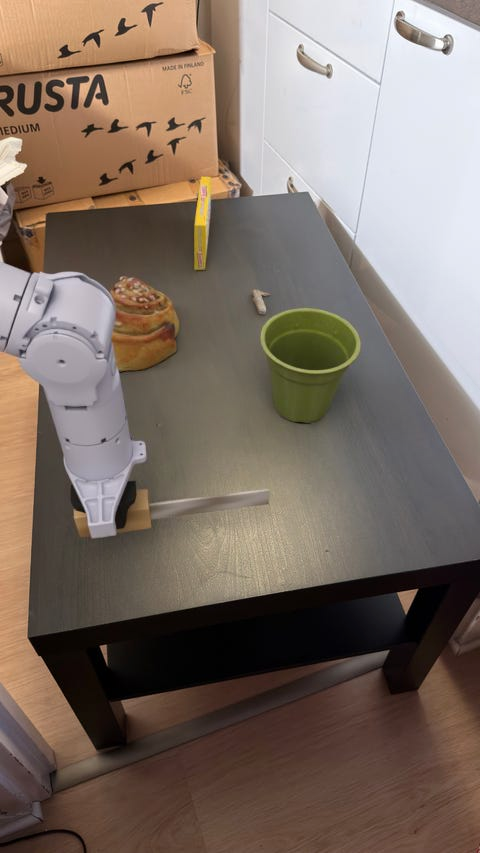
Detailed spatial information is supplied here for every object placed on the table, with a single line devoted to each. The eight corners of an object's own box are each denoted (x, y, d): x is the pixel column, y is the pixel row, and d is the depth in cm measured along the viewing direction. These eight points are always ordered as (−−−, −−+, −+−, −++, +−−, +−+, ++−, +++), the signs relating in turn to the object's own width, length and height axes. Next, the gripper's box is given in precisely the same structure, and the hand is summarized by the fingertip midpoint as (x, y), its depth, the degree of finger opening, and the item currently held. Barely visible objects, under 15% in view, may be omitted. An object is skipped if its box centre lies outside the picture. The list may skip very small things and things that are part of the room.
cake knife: (79, 537, 61) (73, 518, 58) (80, 517, 62) (73, 497, 60) (270, 513, 63) (272, 493, 61) (266, 493, 65) (267, 473, 62)
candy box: (207, 271, 102) (205, 225, 96) (194, 271, 102) (191, 225, 96) (212, 219, 113) (211, 175, 106) (200, 219, 113) (198, 175, 107)
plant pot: (327, 451, 77) (339, 385, 68) (241, 418, 80) (243, 352, 72) (359, 390, 84) (374, 324, 75) (279, 363, 87) (285, 297, 79)
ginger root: (277, 311, 94) (258, 311, 93) (276, 315, 95) (257, 315, 94) (268, 288, 98) (250, 288, 97) (267, 293, 99) (249, 293, 98)
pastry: (177, 302, 96) (174, 257, 90) (183, 368, 86) (179, 322, 80) (90, 308, 95) (81, 262, 89) (86, 375, 85) (75, 329, 79)
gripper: (146, 484, 46) (160, 574, 56) (135, 356, 56) (149, 452, 66) (49, 496, 45) (81, 585, 56) (55, 363, 55) (81, 460, 65)
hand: (113, 513), depth 61 cm, fingers closed on cake knife, 2 cm apart
